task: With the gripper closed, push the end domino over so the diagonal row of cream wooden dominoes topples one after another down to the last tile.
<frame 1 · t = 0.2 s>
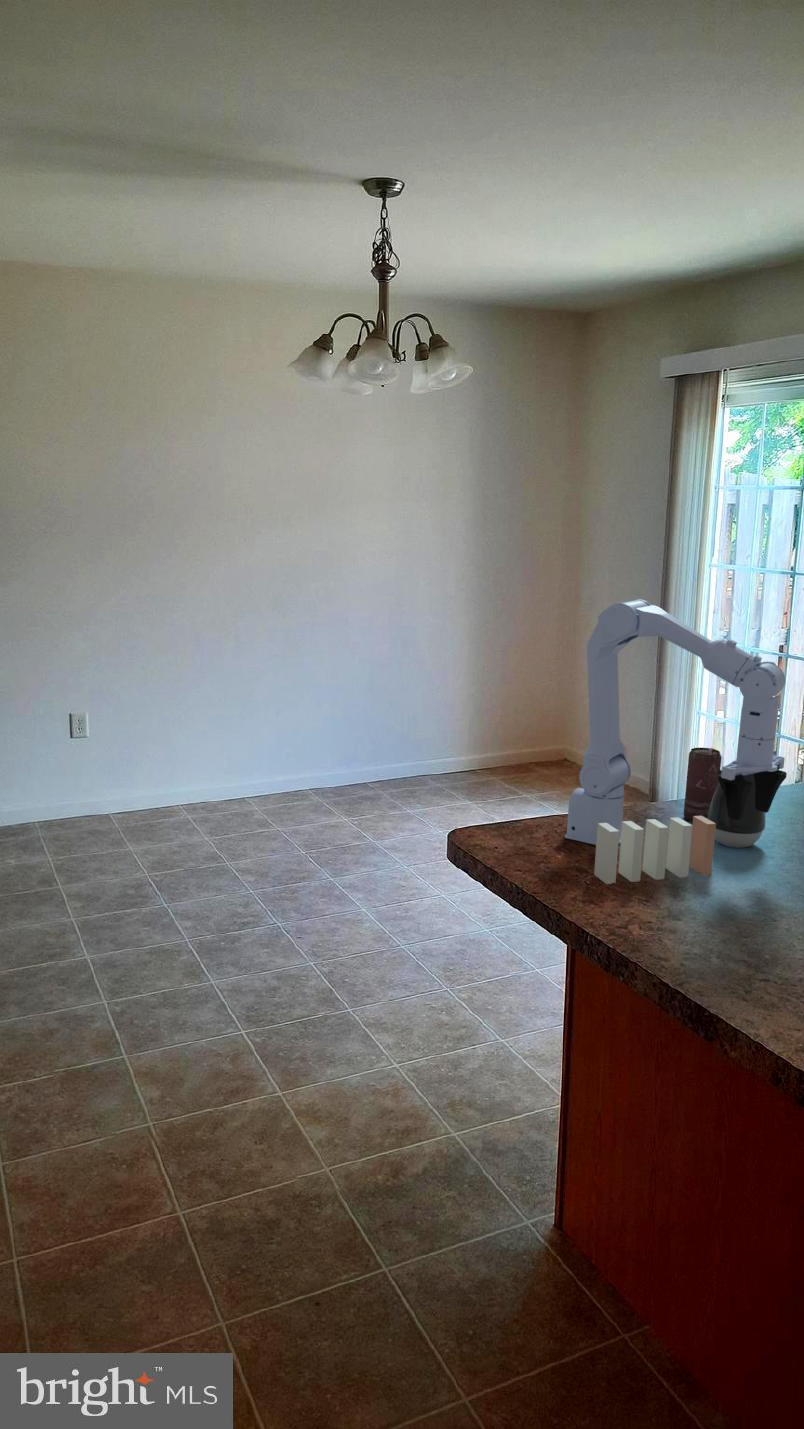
hand: (748, 814, 177), 10 cm above the countertop, tool pointing down, fingers open, 7 cm apart
can: (699, 820, 207), on the countertop
end domino: (699, 870, 179), on the countertop
domino 2: (628, 876, 175), on the countertop
domino 3: (652, 874, 176), on the countertop
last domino: (604, 878, 174), on the countertop
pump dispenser: (733, 844, 193), on the countertop
domino 4: (676, 872, 177), on the countertop
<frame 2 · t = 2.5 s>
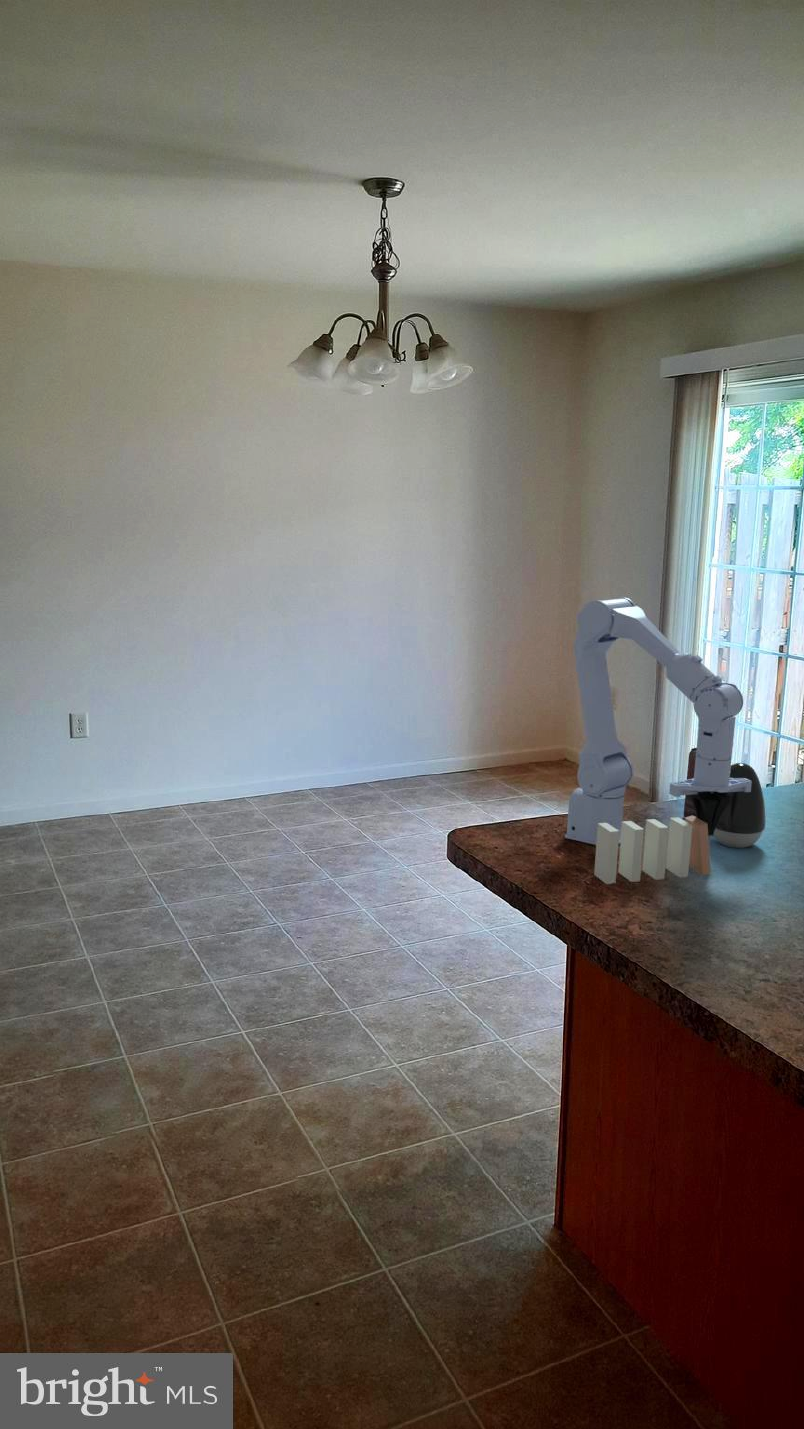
hand: (706, 834, 178), 6 cm above the countertop, tool pointing down, fingers closed
end domino: (699, 869, 179), on the countertop, tilted 11°
everything else where it was.
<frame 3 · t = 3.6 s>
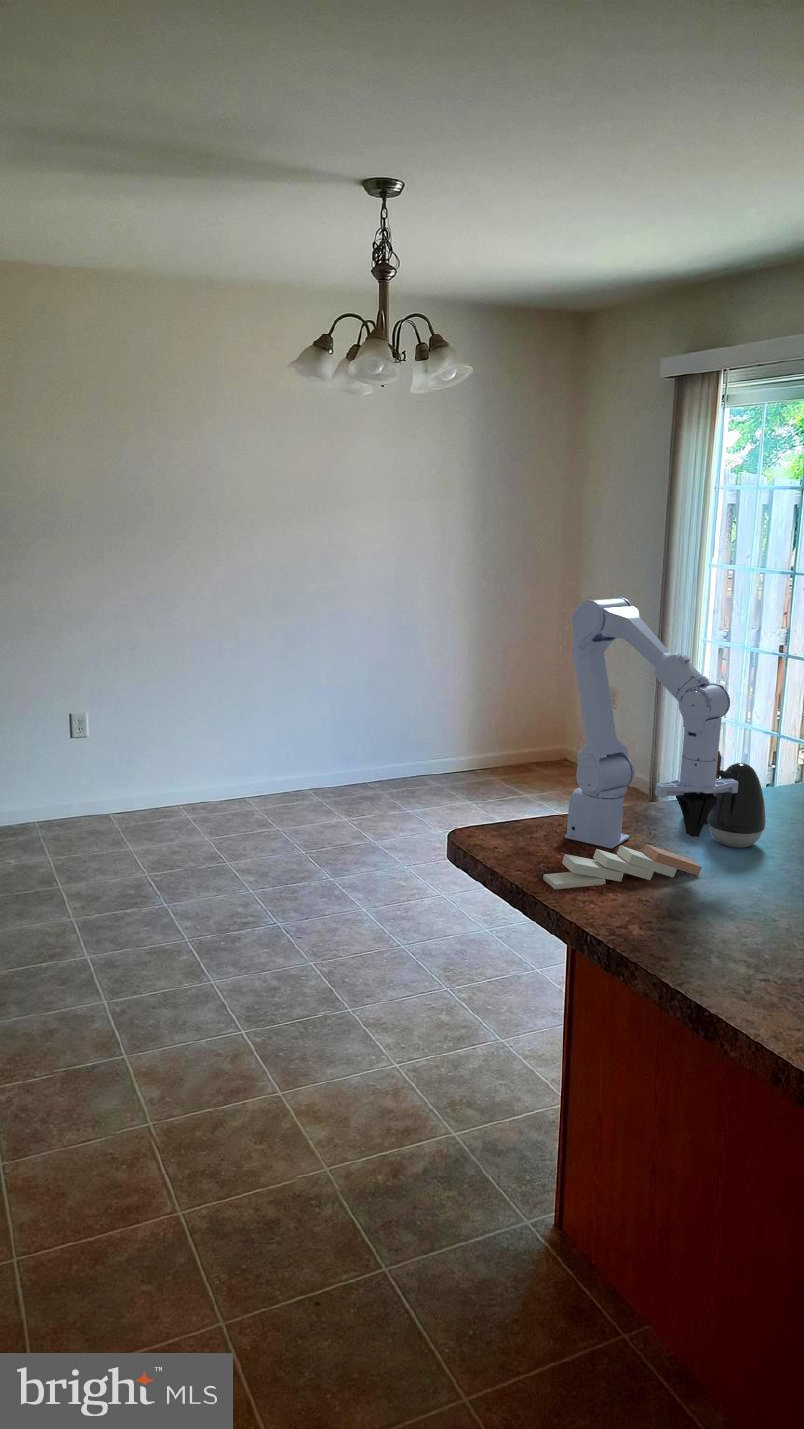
hand: (692, 835, 177), 6 cm above the countertop, tool pointing down, fingers closed
end domino: (693, 866, 178), point 1 cm above the countertop, tilted 69°, touching domino 4
domino 2: (616, 872, 174), point 1 cm above the countertop, tilted 76°
domino 3: (645, 871, 176), point 1 cm above the countertop, tilted 71°, touching domino 4
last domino: (598, 879, 173), on the countertop, tilted 90°
domino 4: (668, 868, 177), point 1 cm above the countertop, tilted 69°, touching domino 3, end domino
everything else where it was.
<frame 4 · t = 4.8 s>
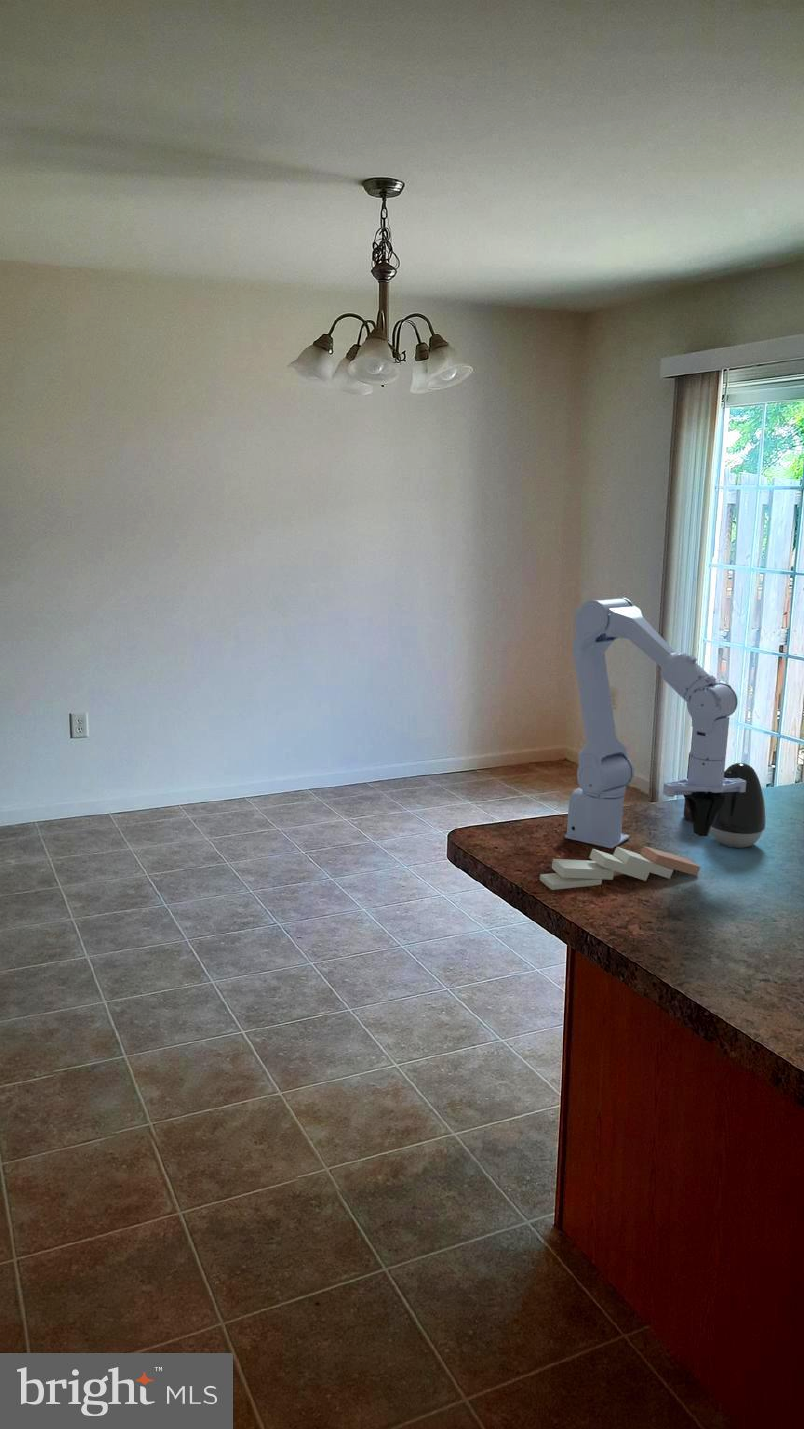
hand: (700, 834, 177), 6 cm above the countertop, tool pointing down, fingers closed
end domino: (691, 866, 178), point 1 cm above the countertop, tilted 71°
domino 2: (607, 870, 174), point 1 cm above the countertop, tilted 83°, touching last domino
domino 3: (640, 871, 175), point 1 cm above the countertop, tilted 69°, touching domino 4
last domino: (595, 879, 173), on the countertop, tilted 90°, touching domino 2
domino 4: (664, 869, 176), point 1 cm above the countertop, tilted 69°, touching domino 3
everything else where it was.
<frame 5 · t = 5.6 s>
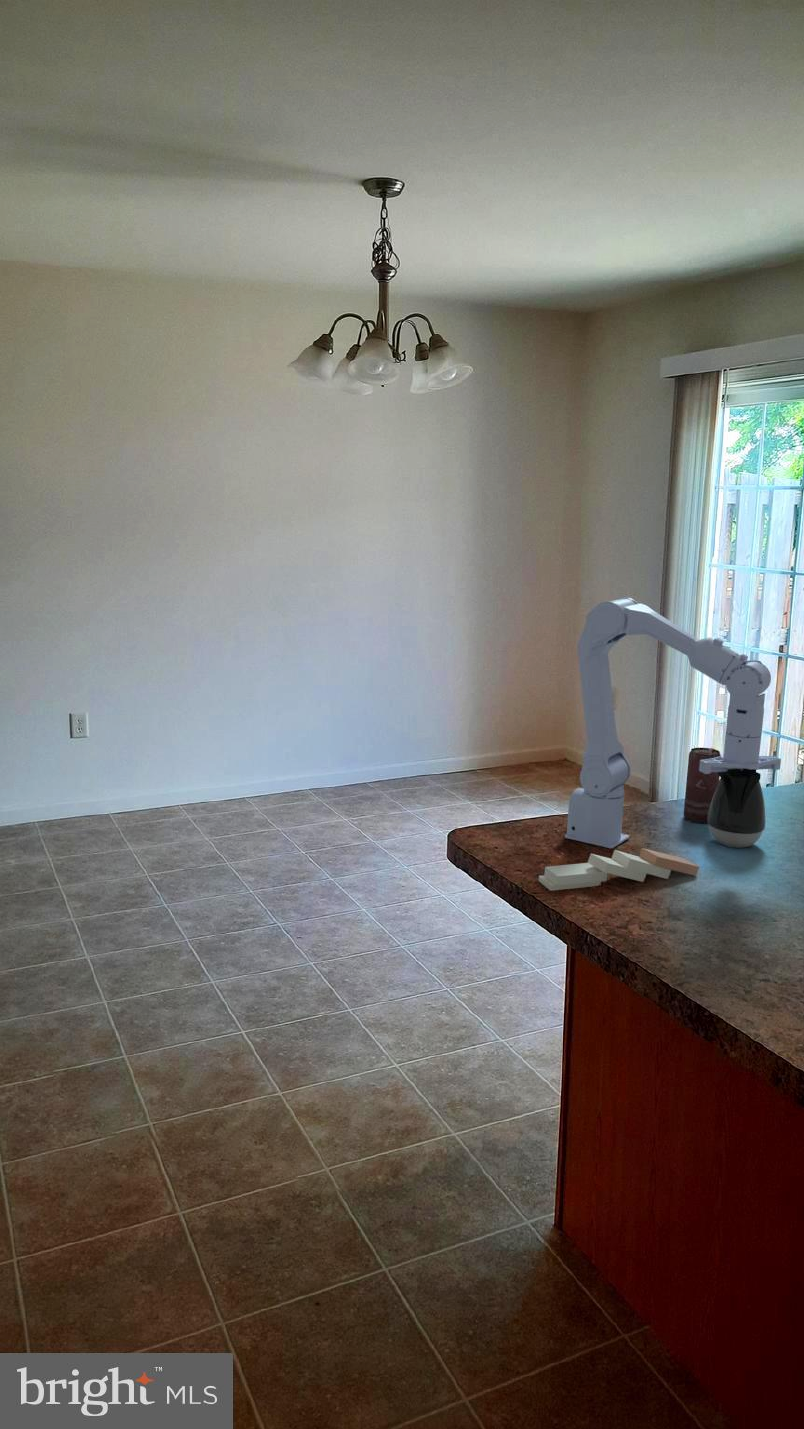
hand: (735, 811, 178), 10 cm above the countertop, tool pointing down, fingers closed
end domino: (689, 866, 178), point 1 cm above the countertop, tilted 72°, touching domino 4
domino 2: (600, 871, 172), point 2 cm above the countertop, tilted 90°, touching domino 3
domino 3: (636, 872, 174), point 1 cm above the countertop, tilted 70°, touching domino 2, domino 4
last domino: (593, 880, 173), on the countertop, tilted 90°
domino 4: (661, 870, 176), point 1 cm above the countertop, tilted 70°, touching domino 3, end domino
everything else where it was.
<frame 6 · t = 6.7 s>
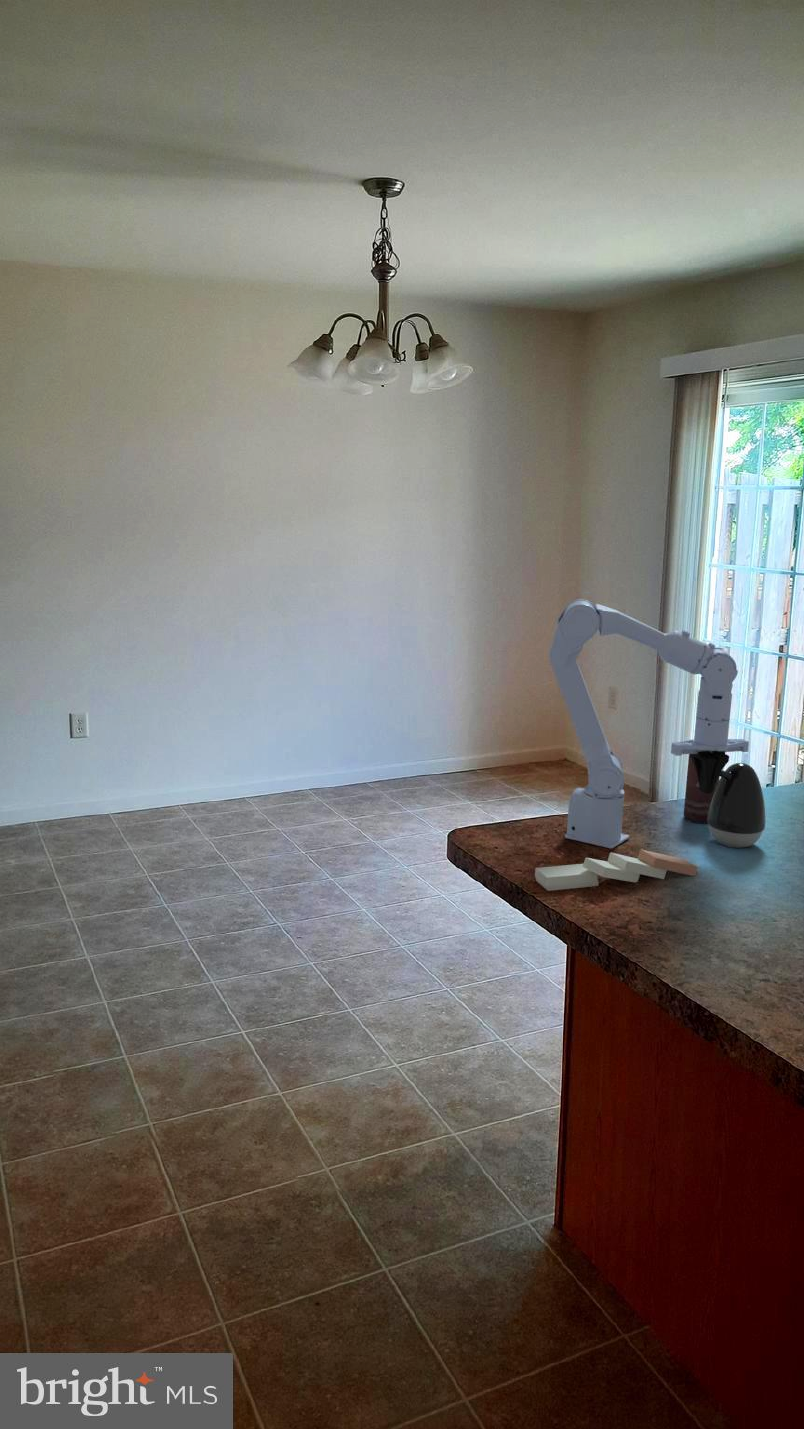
hand: (705, 791, 188), 10 cm above the countertop, tool pointing down, fingers closed
domino 2: (591, 872, 172), point 2 cm above the countertop, tilted 90°, touching domino 3, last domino
domino 3: (628, 873, 174), point 1 cm above the countertop, tilted 72°, touching domino 2, domino 4
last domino: (591, 880, 173), on the countertop, tilted 90°, touching domino 2
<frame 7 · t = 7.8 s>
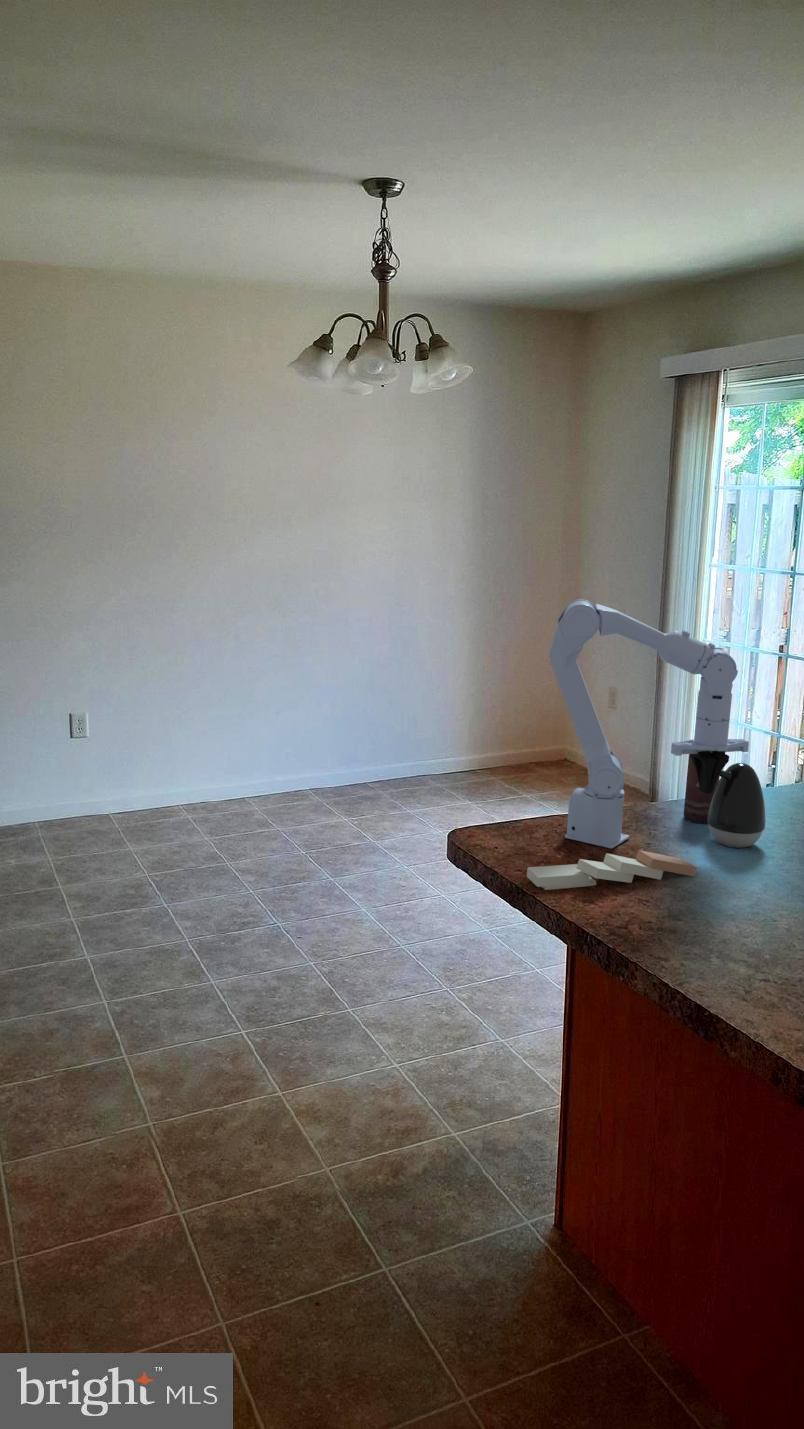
hand: (705, 791, 188), 10 cm above the countertop, tool pointing down, fingers closed
domino 2: (583, 873, 172), point 1 cm above the countertop, tilted 89°, touching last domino
domino 3: (622, 873, 174), point 1 cm above the countertop, tilted 73°, touching domino 4
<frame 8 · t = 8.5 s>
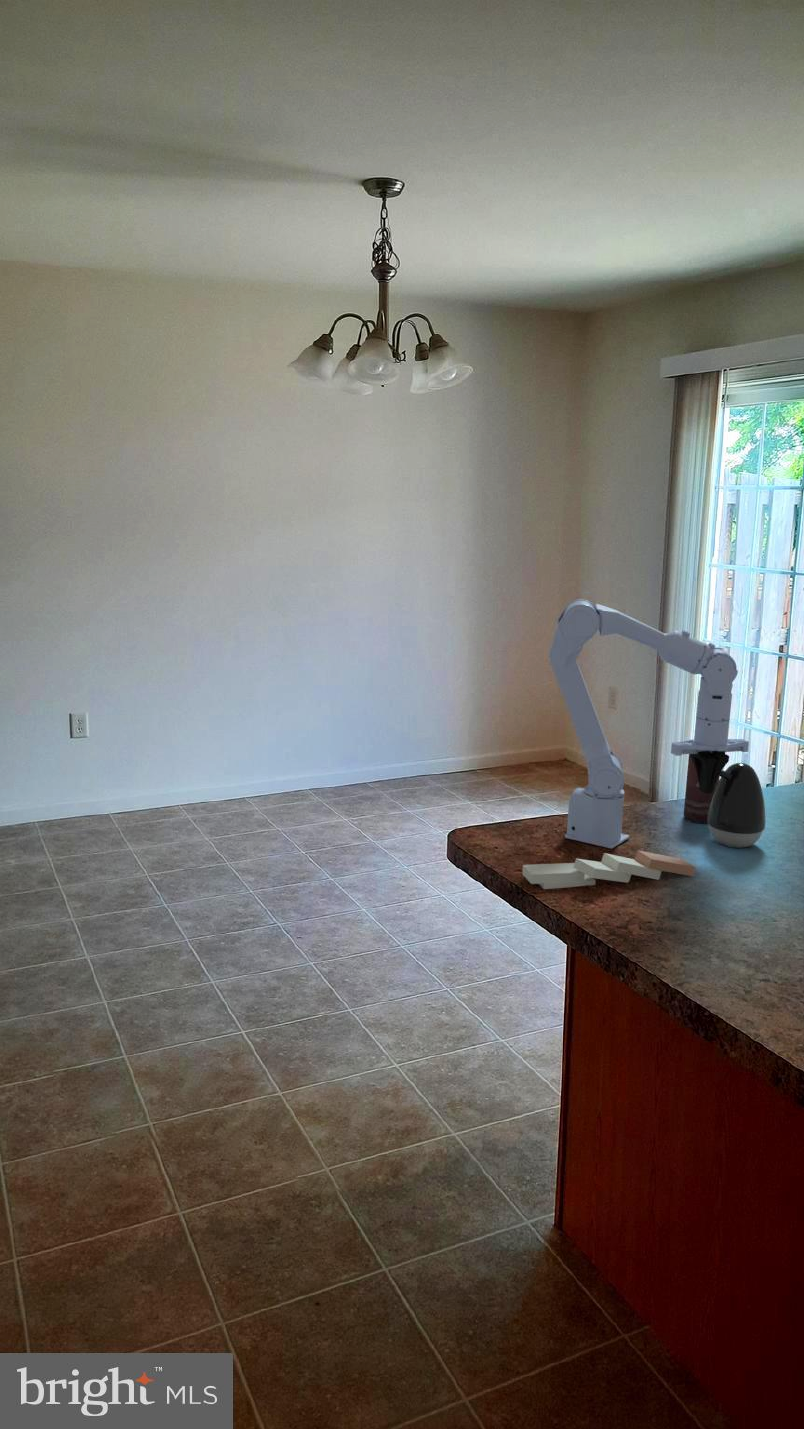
hand: (705, 791, 188), 10 cm above the countertop, tool pointing down, fingers closed
at the end: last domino tilted 90°; end domino tilted 75° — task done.
